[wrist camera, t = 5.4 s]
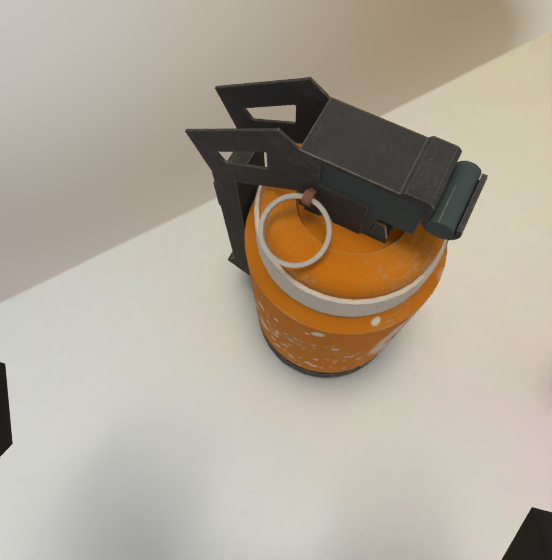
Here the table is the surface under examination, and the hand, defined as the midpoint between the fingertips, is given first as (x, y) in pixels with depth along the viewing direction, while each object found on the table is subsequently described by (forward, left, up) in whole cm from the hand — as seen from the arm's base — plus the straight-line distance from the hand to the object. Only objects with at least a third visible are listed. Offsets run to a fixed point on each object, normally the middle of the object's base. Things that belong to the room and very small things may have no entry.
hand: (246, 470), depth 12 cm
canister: (-3, +10, -20) cm, 23 cm away
